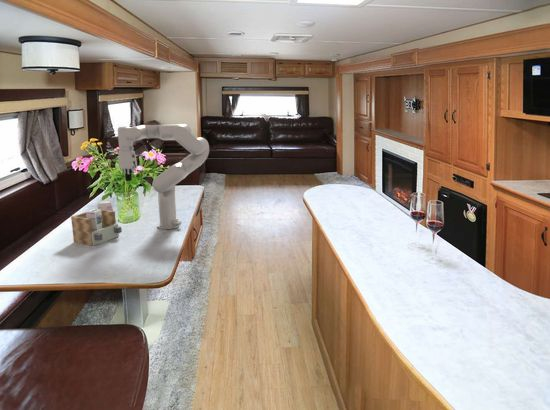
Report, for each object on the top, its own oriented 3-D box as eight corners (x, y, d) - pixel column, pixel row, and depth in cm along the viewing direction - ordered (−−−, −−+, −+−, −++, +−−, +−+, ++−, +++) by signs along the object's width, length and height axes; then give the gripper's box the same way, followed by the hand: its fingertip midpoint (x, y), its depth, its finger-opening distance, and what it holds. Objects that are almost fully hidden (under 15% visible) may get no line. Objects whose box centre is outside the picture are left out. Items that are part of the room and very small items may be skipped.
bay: (117, 236, 277) (114, 211, 274) (92, 245, 262) (89, 219, 258) (99, 233, 283) (97, 209, 280) (73, 242, 267) (71, 216, 264)
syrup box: (98, 238, 266) (95, 211, 262) (88, 238, 267) (85, 211, 264) (104, 235, 271) (101, 209, 268) (94, 234, 272) (91, 208, 269)
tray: (123, 236, 275) (122, 224, 274) (98, 246, 260) (97, 233, 258) (101, 233, 282) (100, 221, 280) (76, 242, 266) (75, 229, 265)
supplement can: (103, 225, 299) (100, 200, 295) (116, 225, 298) (114, 200, 295) (97, 229, 291) (94, 203, 288) (111, 229, 290) (108, 203, 287)
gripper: (141, 148, 286) (143, 180, 290) (120, 147, 292) (123, 178, 296) (131, 150, 279) (134, 182, 283) (111, 148, 285) (114, 180, 290)
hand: (128, 180), depth 290 cm, fingers closed
